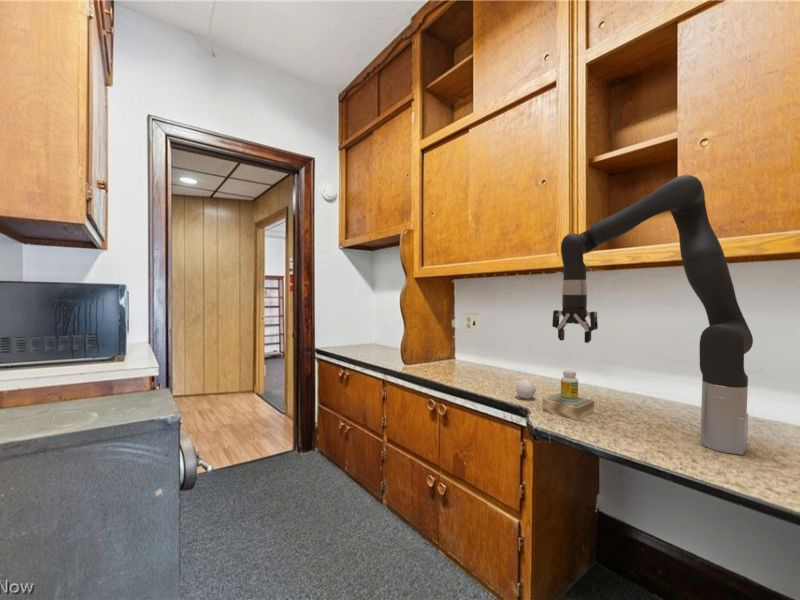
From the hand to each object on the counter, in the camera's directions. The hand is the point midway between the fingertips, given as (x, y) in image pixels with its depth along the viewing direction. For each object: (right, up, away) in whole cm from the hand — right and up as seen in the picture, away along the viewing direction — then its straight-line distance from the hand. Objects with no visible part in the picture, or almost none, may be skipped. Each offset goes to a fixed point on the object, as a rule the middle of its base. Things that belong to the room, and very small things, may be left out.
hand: (574, 341), depth 128 cm
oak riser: (-1, -24, +1) cm, 24 cm away
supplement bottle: (-1, -20, +1) cm, 20 cm away
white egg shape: (-10, -24, +18) cm, 31 cm away
